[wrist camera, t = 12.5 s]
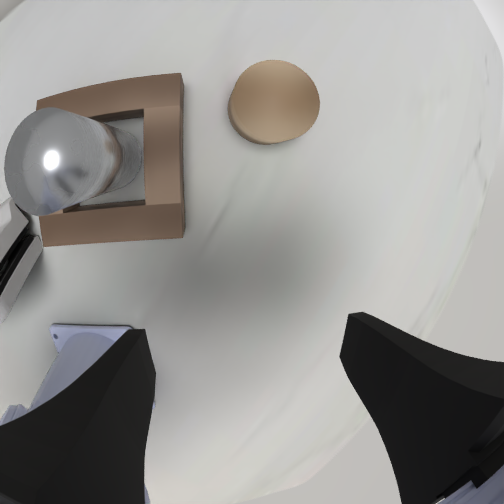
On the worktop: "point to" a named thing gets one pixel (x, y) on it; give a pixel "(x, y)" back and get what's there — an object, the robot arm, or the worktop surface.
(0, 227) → the hinge
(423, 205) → the worktop surface
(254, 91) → the oak stub
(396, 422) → the robot arm
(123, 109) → the socket block
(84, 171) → the tall pin
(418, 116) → the worktop surface
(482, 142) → the worktop surface
